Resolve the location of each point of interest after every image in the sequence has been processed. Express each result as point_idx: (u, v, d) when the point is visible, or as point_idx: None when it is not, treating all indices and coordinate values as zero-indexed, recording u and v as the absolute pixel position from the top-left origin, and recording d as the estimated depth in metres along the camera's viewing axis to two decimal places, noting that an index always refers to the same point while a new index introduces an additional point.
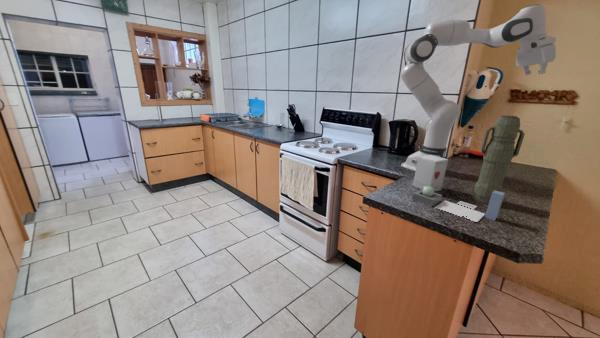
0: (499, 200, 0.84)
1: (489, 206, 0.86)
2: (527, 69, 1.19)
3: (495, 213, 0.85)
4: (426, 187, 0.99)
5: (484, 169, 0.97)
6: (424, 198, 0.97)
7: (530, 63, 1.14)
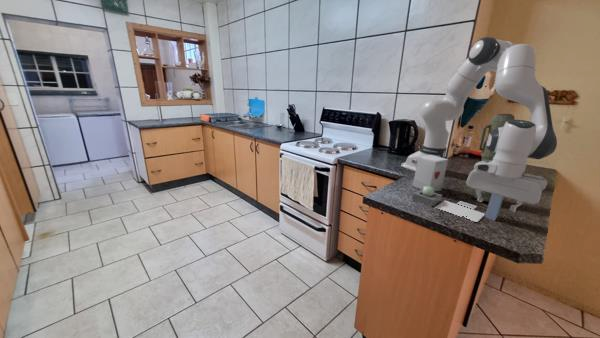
0: (499, 200, 0.84)
1: (489, 206, 0.86)
2: (516, 205, 0.82)
3: (495, 213, 0.85)
4: (426, 187, 0.99)
5: None
6: (424, 198, 0.97)
7: None
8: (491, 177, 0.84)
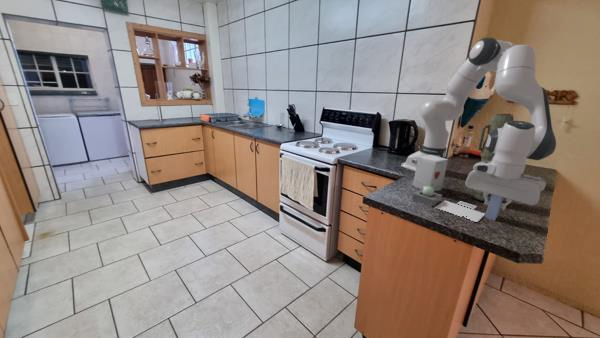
0: (499, 200, 0.84)
1: (489, 206, 0.86)
2: (505, 203, 0.84)
3: (495, 213, 0.85)
4: (426, 187, 0.99)
5: None
6: (424, 198, 0.97)
7: None
8: (490, 178, 0.84)
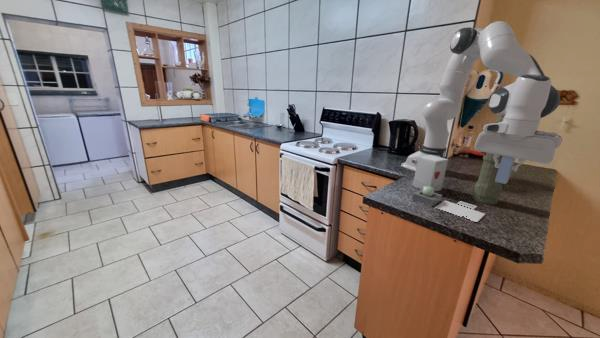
0: (510, 161, 0.79)
1: (500, 169, 0.82)
2: (517, 164, 0.79)
3: (506, 176, 0.81)
4: (426, 187, 0.99)
5: (484, 169, 0.97)
6: (424, 198, 0.97)
7: None
8: (502, 138, 0.80)
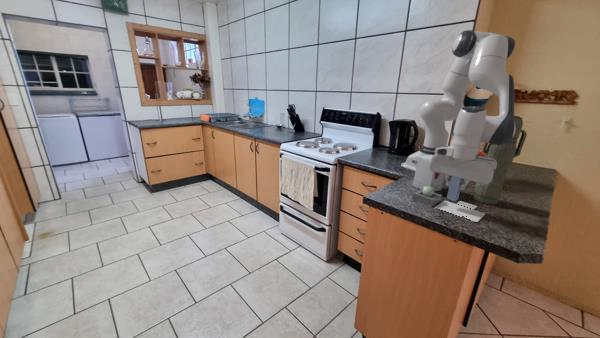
0: (458, 181, 0.89)
1: (450, 187, 0.92)
2: (464, 184, 0.89)
3: (455, 194, 0.91)
4: (426, 187, 0.99)
5: None
6: (424, 198, 0.97)
7: None
8: (450, 161, 0.90)
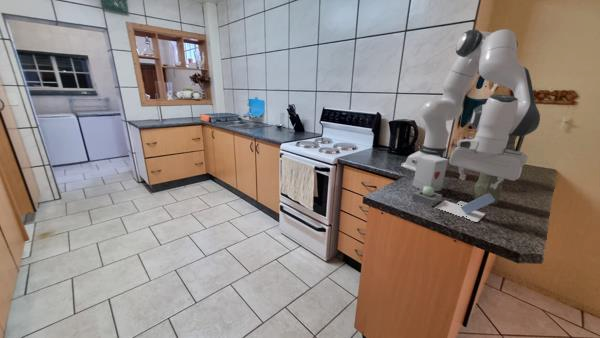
0: (485, 203, 0.84)
1: (472, 202, 0.87)
2: (496, 182, 0.81)
3: (472, 210, 0.87)
4: (426, 187, 0.99)
5: None
6: (424, 198, 0.97)
7: None
8: (473, 154, 0.83)
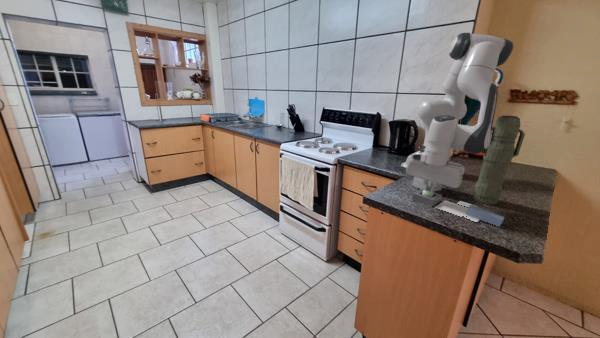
0: (492, 223, 0.83)
1: (483, 213, 0.85)
2: (432, 186, 0.97)
3: (475, 216, 0.87)
4: (425, 190, 0.99)
5: (484, 169, 0.98)
6: (424, 198, 0.97)
7: None
8: (424, 166, 0.97)
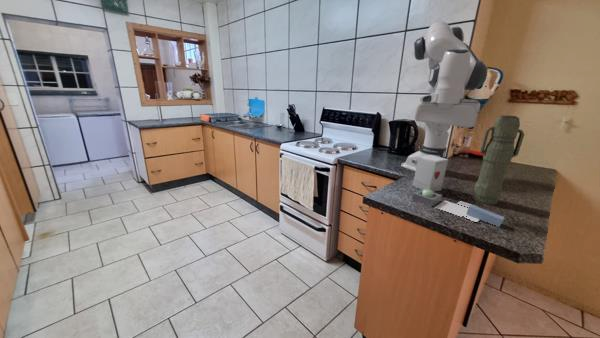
0: (492, 223, 0.83)
1: (483, 213, 0.85)
2: None
3: (475, 216, 0.87)
4: (425, 190, 0.99)
5: (484, 169, 0.97)
6: (424, 198, 0.97)
7: None
8: (435, 108, 0.89)
